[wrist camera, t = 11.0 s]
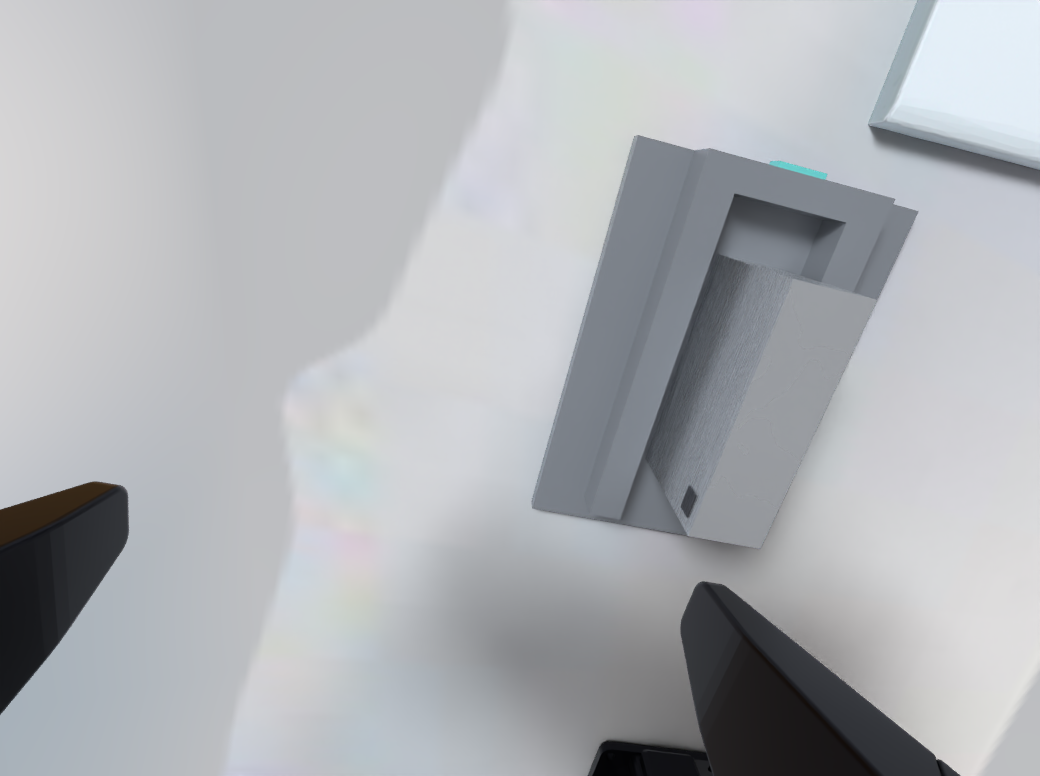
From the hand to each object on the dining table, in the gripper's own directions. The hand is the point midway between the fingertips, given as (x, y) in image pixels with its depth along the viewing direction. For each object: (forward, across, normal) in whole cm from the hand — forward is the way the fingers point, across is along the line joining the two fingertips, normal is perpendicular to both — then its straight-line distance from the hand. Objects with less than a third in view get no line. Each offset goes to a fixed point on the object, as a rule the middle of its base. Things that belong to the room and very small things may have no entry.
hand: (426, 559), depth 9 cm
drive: (+12, -9, -1) cm, 15 cm away
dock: (+12, -9, -1) cm, 15 cm away
